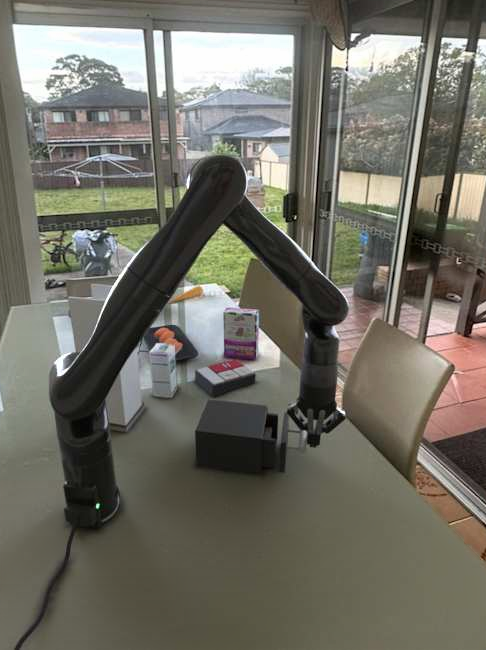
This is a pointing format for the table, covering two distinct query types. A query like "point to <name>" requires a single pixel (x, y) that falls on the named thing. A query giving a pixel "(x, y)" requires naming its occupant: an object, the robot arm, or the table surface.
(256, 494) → the table surface
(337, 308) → the robot arm
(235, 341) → the candy bar box
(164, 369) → the syrup box
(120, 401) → the tall white pillar
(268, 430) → the block
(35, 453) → the table surface
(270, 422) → the drawer
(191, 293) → the carrot
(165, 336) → the sushi plate
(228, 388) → the calculator
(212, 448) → the cabinet
